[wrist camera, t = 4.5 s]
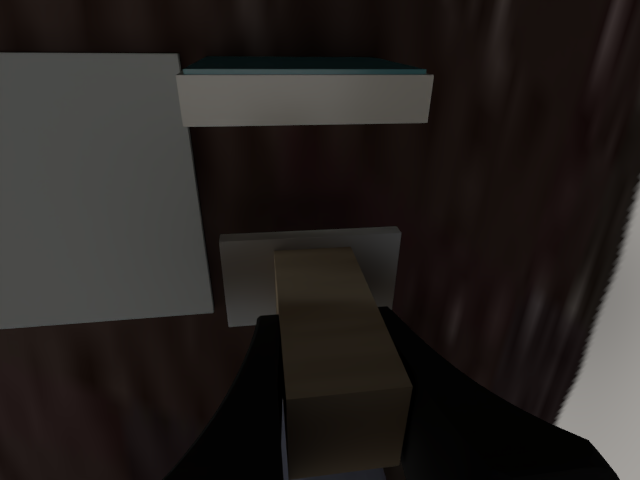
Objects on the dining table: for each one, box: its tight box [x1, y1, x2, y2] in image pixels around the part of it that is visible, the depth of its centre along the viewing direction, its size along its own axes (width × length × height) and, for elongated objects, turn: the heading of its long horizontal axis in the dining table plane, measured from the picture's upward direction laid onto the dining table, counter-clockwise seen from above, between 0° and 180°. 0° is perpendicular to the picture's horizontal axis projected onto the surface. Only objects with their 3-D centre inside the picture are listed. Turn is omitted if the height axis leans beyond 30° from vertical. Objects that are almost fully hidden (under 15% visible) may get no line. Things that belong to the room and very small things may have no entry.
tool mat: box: [0, 52, 214, 329], centre depth 20 cm, size 14×12×1 cm
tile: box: [176, 56, 434, 127], centre depth 16 cm, size 2×8×7 cm, turn 89°
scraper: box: [219, 226, 413, 480], centre depth 13 cm, size 4×7×8 cm, turn 89°
